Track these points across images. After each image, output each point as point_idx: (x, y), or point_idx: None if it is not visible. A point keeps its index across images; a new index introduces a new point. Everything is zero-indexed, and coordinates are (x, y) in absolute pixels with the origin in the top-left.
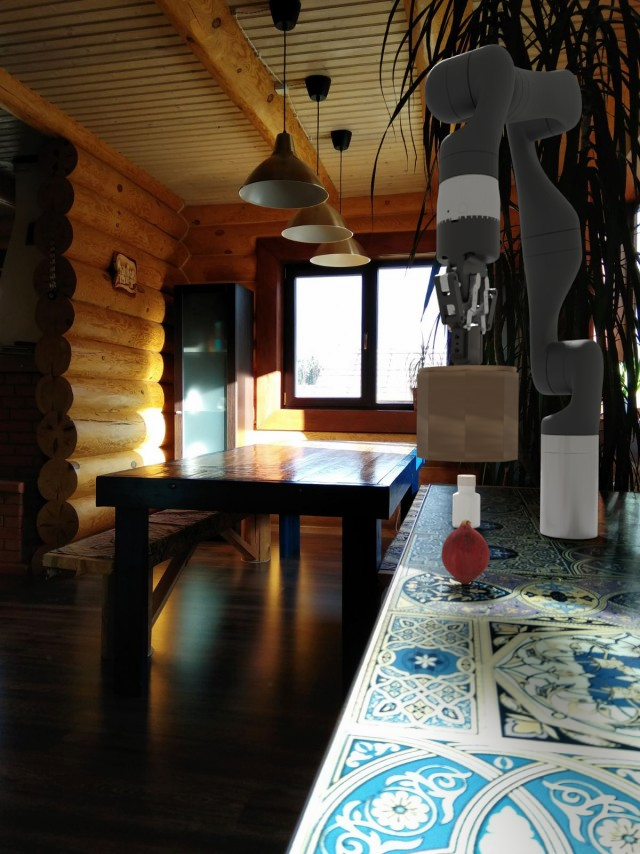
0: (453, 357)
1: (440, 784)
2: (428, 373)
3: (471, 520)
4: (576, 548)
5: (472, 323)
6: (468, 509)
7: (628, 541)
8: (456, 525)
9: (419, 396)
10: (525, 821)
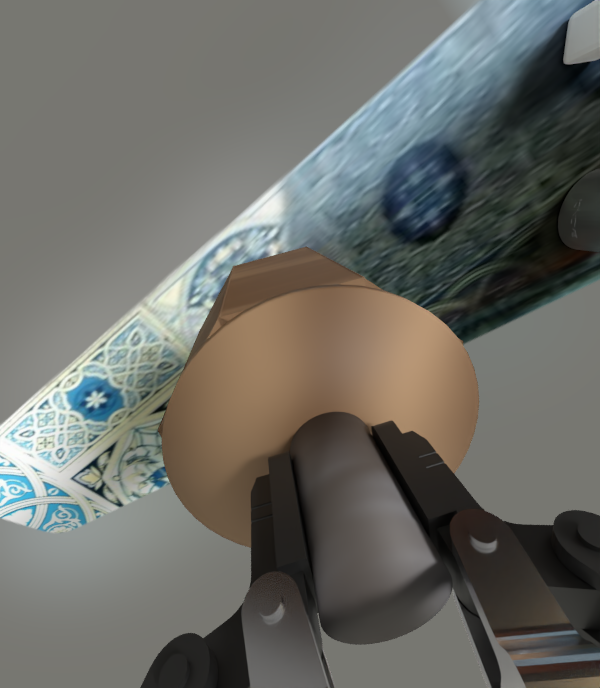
0: (256, 483)
1: (11, 490)
2: (159, 426)
3: (578, 58)
4: (511, 265)
5: (557, 589)
6: (598, 42)
7: (582, 283)
8: (569, 27)
9: (213, 317)
10: (31, 516)
